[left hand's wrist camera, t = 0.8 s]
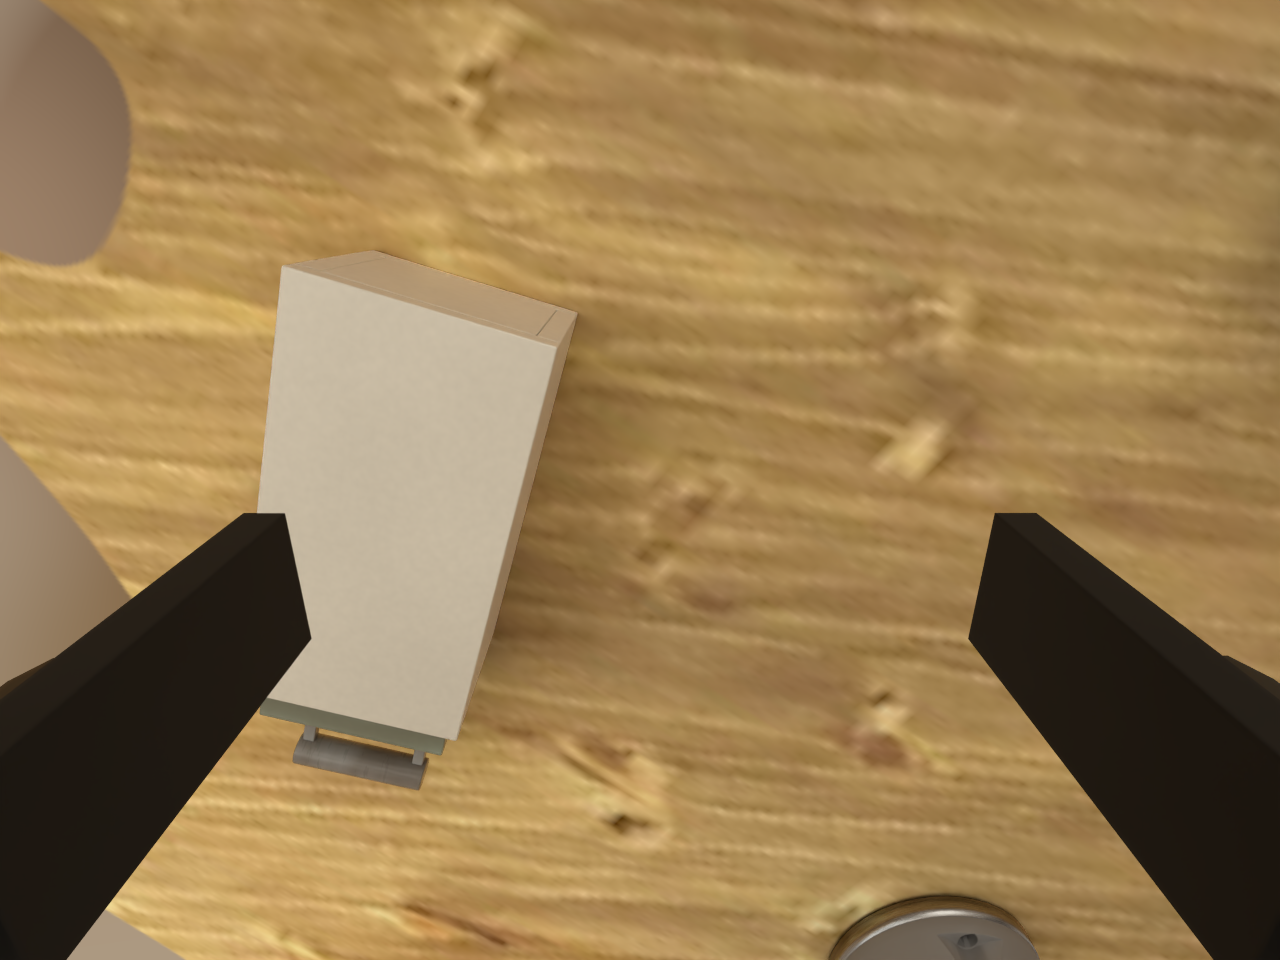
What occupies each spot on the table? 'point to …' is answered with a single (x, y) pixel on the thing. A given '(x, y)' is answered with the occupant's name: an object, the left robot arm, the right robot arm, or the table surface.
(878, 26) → the table surface
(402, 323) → the cabinet
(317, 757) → the drawer
